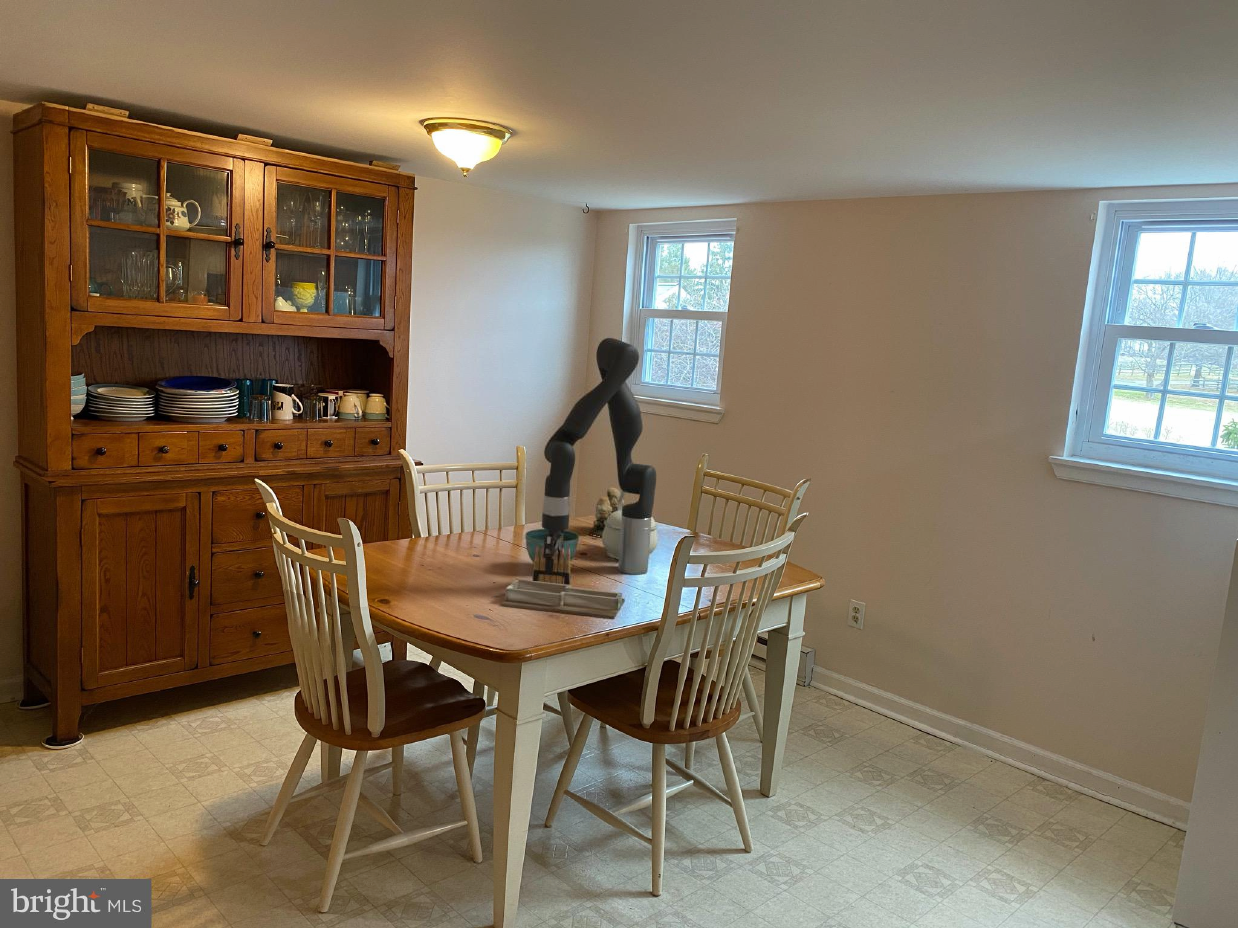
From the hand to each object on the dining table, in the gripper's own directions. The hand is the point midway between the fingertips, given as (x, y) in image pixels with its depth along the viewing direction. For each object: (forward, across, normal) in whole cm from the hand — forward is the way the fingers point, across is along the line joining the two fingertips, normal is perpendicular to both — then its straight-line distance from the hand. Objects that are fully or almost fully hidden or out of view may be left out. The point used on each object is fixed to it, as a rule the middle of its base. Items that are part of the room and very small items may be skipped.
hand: (552, 568), depth 259 cm
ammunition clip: (+6, 0, 0) cm, 6 cm away
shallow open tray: (+6, +13, +7) cm, 15 cm away
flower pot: (+6, -20, -5) cm, 21 cm away
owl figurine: (+5, -76, +3) cm, 77 cm away
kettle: (+6, -47, +14) cm, 50 cm away
